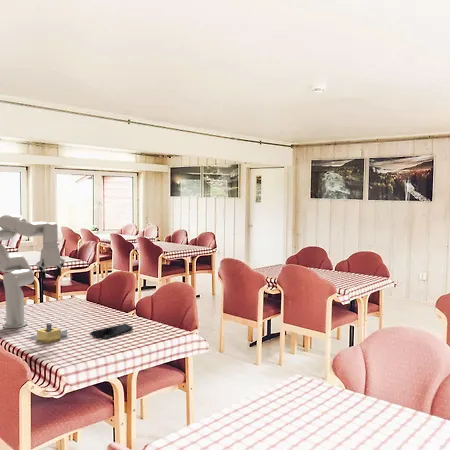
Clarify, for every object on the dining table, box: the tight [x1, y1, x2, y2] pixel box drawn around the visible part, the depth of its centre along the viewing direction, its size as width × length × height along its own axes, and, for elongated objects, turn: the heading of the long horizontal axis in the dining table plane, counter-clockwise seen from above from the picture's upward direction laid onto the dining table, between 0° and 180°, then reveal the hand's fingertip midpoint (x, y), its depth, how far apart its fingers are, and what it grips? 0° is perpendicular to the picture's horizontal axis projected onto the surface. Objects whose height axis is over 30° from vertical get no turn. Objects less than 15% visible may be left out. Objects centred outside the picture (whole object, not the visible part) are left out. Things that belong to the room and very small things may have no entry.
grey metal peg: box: [45, 323, 52, 331], centre depth 246 cm, size 2×2×8 cm
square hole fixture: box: [26, 327, 72, 345], centre depth 249 cm, size 18×15×6 cm
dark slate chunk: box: [89, 323, 133, 340], centre depth 263 cm, size 15×22×5 cm
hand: (51, 277), depth 263 cm, fingers open, 9 cm apart
